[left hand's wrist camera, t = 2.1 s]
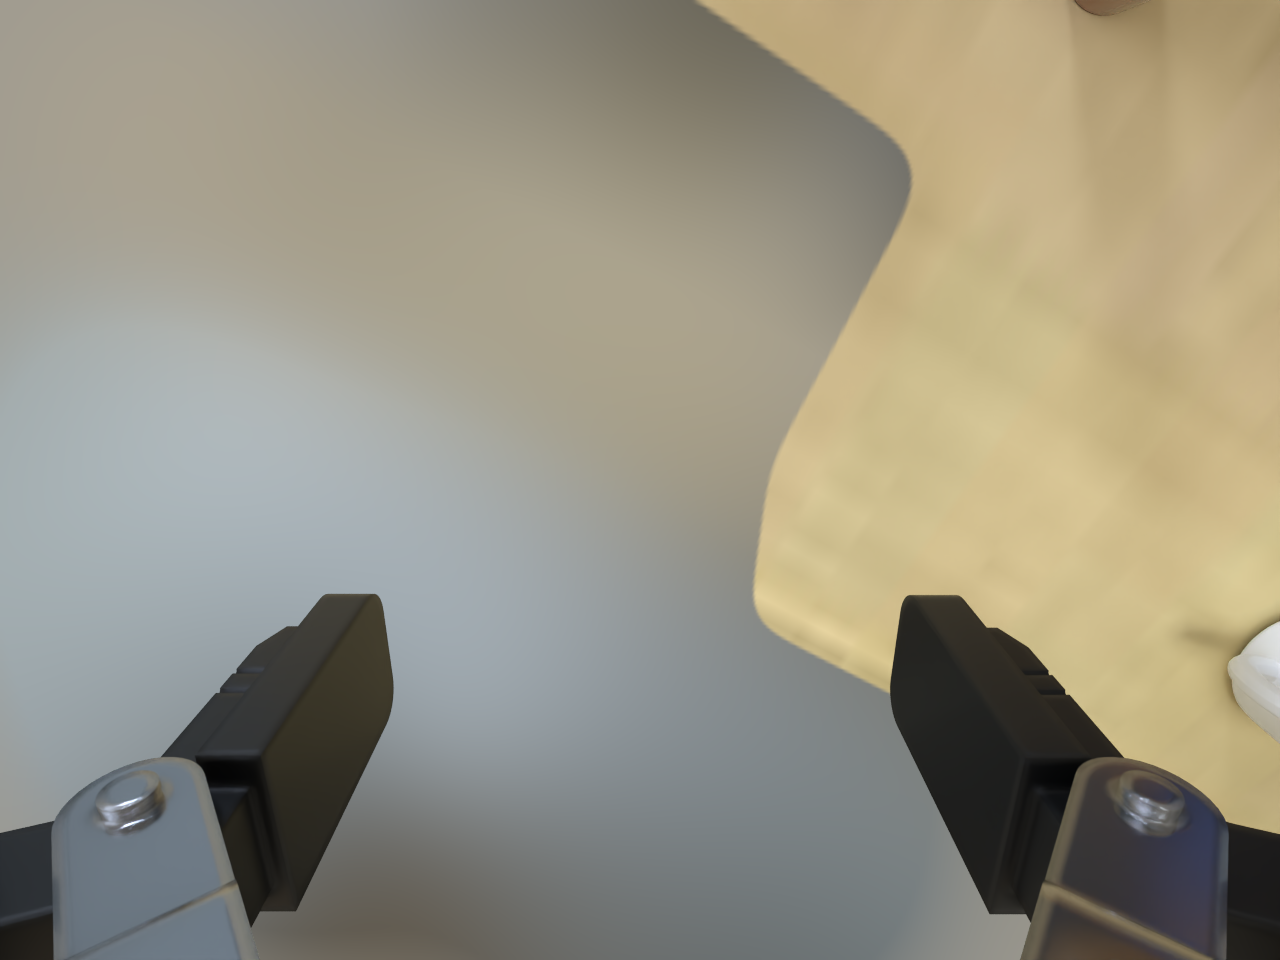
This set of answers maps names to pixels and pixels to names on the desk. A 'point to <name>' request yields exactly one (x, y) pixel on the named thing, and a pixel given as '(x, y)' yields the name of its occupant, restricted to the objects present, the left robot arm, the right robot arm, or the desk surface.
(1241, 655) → the mug
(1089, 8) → the brown cylindrical tube
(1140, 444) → the desk surface
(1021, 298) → the desk surface
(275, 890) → the left robot arm
